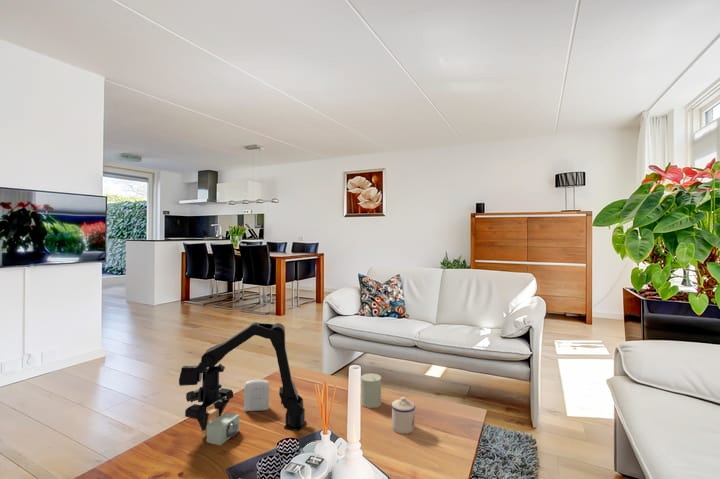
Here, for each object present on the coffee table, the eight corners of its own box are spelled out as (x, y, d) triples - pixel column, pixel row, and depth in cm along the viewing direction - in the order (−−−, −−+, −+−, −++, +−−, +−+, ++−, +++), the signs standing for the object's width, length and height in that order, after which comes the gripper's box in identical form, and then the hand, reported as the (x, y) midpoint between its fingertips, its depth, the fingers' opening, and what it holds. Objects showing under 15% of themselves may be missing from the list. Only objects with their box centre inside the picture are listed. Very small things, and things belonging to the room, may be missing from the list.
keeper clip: (218, 426, 132) (218, 408, 132) (206, 434, 125) (206, 416, 126) (214, 425, 132) (214, 407, 132) (201, 433, 126) (201, 415, 126)
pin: (237, 433, 127) (237, 421, 128) (229, 439, 123) (229, 427, 123) (210, 427, 132) (210, 415, 132) (201, 433, 127) (201, 421, 127)
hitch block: (239, 430, 131) (239, 414, 131) (220, 445, 121) (220, 428, 121) (226, 427, 133) (226, 412, 133) (206, 442, 123) (206, 425, 123)
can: (367, 410, 148) (367, 381, 148) (356, 401, 156) (357, 374, 156) (385, 405, 152) (385, 377, 153) (374, 396, 160) (374, 370, 161)
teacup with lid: (418, 433, 130) (418, 402, 130) (394, 435, 129) (394, 403, 129) (408, 417, 142) (409, 388, 142) (387, 418, 141) (387, 390, 141)
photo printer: (269, 406, 150) (270, 377, 150) (268, 410, 146) (268, 381, 146) (245, 407, 149) (245, 378, 149) (243, 412, 145) (243, 382, 145)
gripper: (211, 371, 140) (211, 410, 140) (173, 390, 123) (172, 434, 123) (234, 375, 137) (234, 415, 137) (198, 395, 119) (197, 440, 119)
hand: (210, 425), depth 129 cm, fingers open, 7 cm apart
